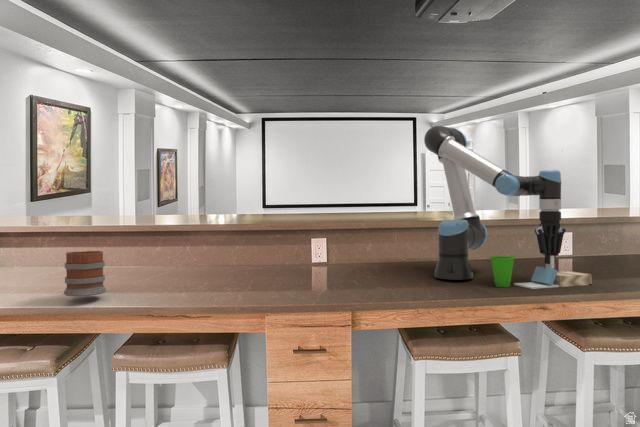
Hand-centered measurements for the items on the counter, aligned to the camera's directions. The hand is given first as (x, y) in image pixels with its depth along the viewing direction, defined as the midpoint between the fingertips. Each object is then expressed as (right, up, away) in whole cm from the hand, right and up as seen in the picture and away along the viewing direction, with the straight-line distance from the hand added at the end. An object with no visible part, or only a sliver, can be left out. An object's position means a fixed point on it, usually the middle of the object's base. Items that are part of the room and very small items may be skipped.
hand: (550, 272), depth 190 cm
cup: (-19, -5, -2) cm, 20 cm away
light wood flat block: (+7, -5, +2) cm, 9 cm away
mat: (-6, -5, -2) cm, 8 cm away
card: (-2, -2, -1) cm, 3 cm away
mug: (-173, -7, -8) cm, 173 cm away
